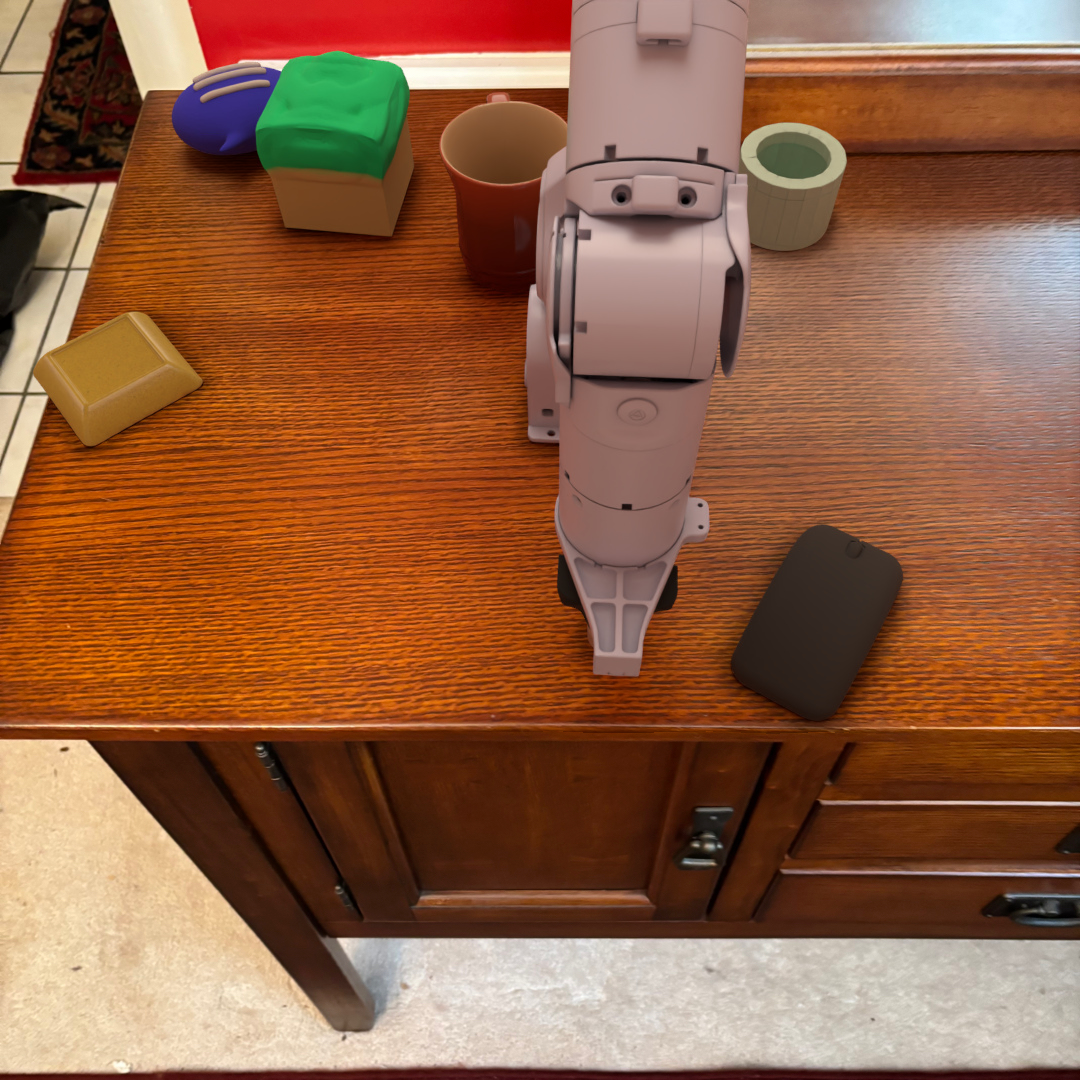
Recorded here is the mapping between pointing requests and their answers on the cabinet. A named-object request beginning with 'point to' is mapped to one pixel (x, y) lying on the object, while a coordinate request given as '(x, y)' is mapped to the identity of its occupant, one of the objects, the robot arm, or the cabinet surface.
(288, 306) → the cabinet surface
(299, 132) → the cake
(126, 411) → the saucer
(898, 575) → the computer mouse
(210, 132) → the decorative object
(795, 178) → the jar
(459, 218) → the mug
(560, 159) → the robot arm
